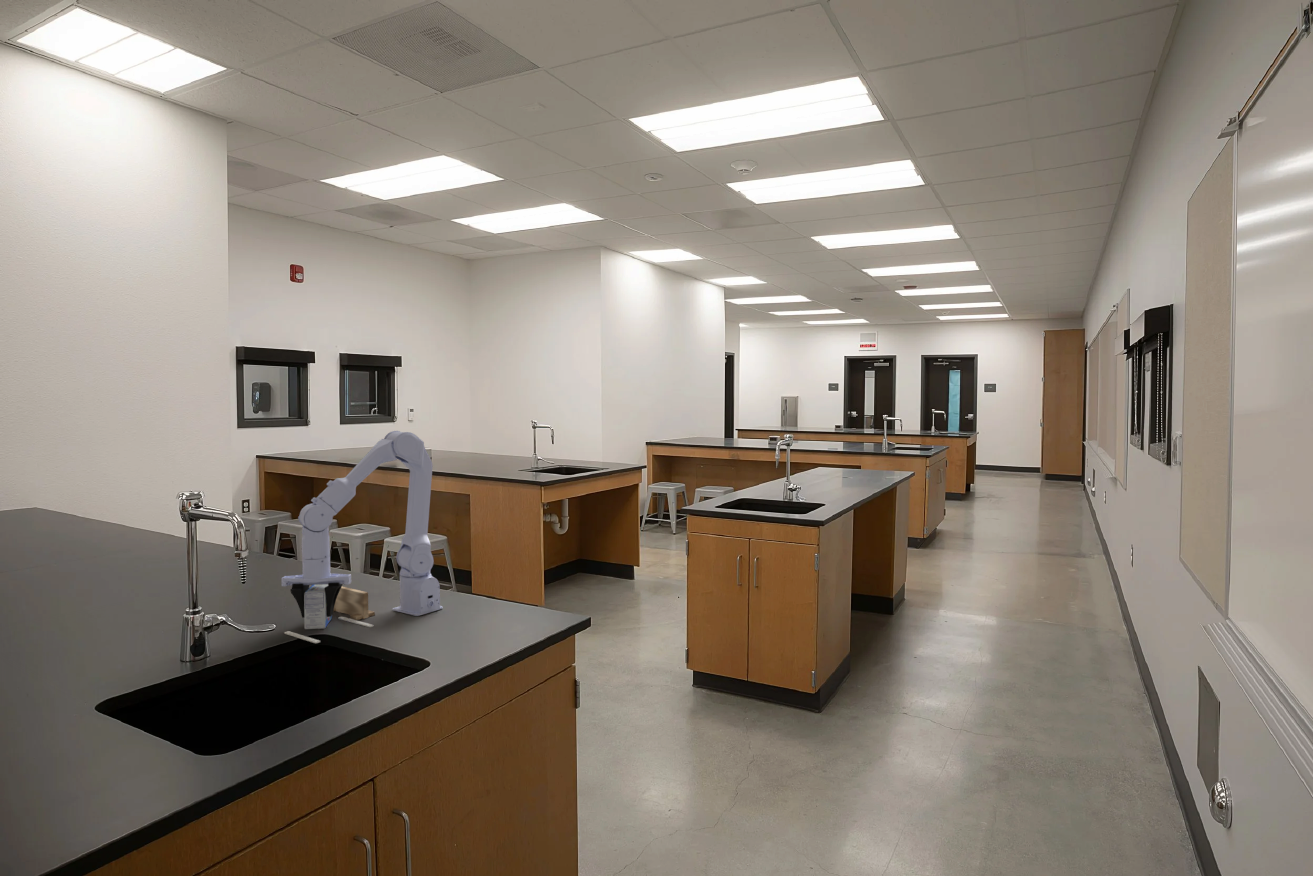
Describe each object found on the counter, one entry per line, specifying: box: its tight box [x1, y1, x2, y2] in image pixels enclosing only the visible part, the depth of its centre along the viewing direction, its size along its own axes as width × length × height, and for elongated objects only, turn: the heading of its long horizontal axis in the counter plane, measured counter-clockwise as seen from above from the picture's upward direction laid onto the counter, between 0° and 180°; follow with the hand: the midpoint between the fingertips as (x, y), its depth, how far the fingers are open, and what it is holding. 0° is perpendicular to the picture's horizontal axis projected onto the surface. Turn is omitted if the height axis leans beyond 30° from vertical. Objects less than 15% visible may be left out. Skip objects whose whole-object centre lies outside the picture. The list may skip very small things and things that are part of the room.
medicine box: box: [303, 584, 333, 630], centre depth 166 cm, size 8×4×9 cm, turn 14°
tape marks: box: [283, 616, 374, 644], centre depth 162 cm, size 12×14×1 cm
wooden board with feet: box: [333, 585, 376, 621], centre depth 175 cm, size 14×5×6 cm, turn 57°
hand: (317, 616), depth 165 cm, fingers closed on medicine box, 5 cm apart
